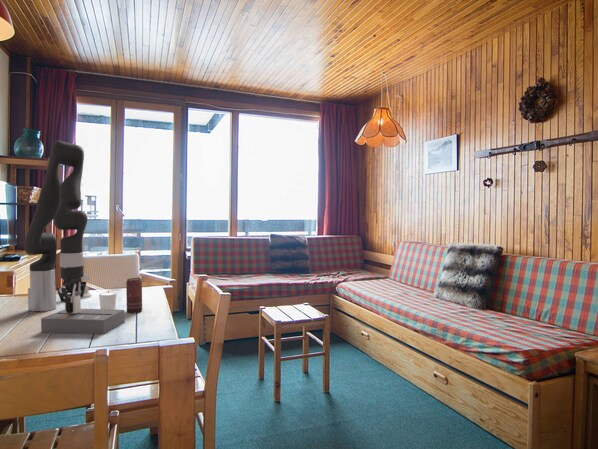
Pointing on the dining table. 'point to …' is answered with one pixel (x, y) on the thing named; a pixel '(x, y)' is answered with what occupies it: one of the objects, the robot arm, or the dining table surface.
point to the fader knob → (75, 304)
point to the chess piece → (86, 292)
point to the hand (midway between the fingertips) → (72, 311)
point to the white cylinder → (107, 300)
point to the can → (134, 295)
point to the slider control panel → (83, 321)
